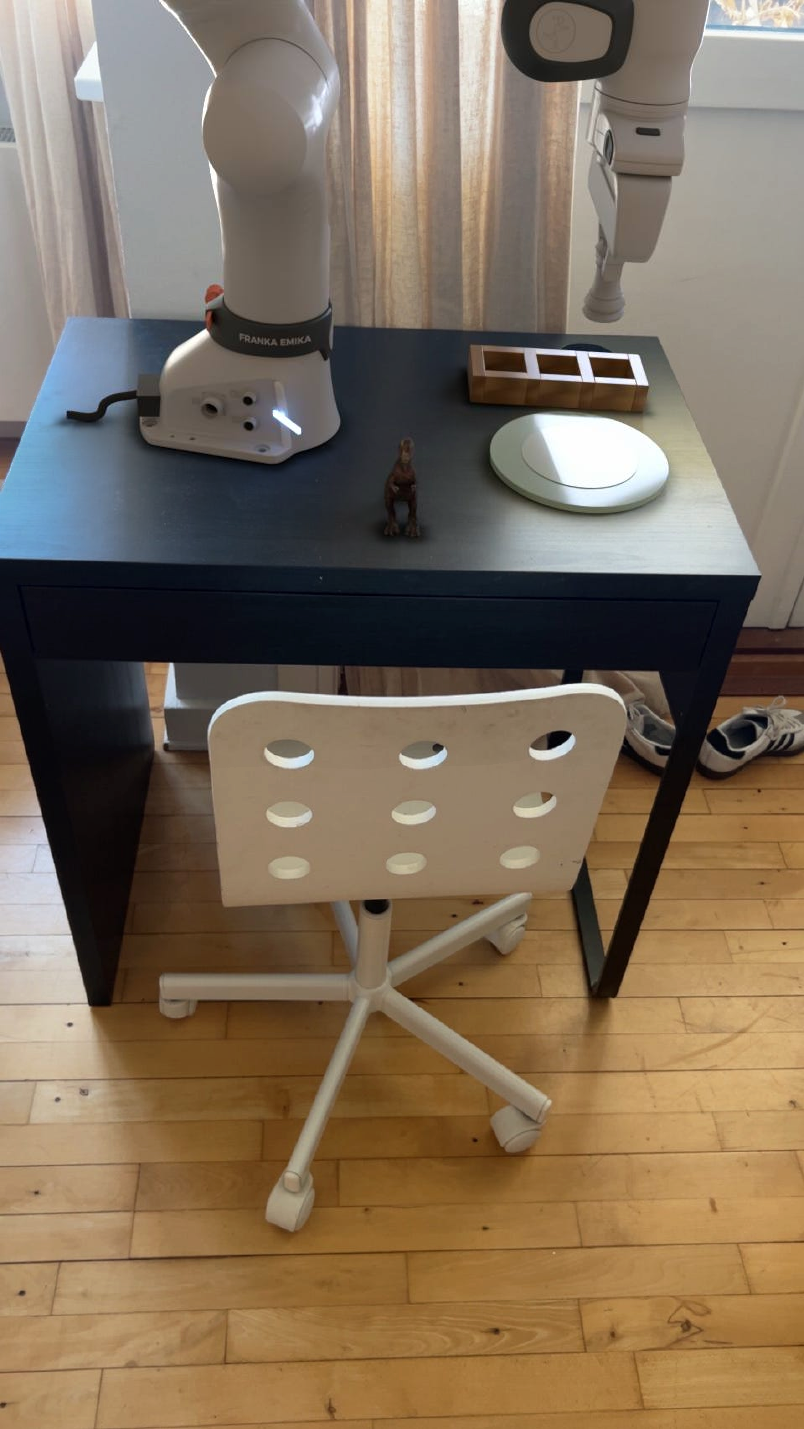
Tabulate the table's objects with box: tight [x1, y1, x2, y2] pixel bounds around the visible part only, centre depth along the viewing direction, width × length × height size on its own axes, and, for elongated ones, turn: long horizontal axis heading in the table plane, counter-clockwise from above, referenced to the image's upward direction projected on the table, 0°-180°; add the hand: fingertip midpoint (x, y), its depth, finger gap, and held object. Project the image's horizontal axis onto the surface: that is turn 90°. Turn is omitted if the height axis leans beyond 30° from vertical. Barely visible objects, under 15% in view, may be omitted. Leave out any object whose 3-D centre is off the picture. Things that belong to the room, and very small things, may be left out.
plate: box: [488, 410, 670, 514], centre depth 130 cm, size 20×20×1 cm
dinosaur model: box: [383, 437, 421, 538], centre depth 117 cm, size 4×12×15 cm
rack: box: [466, 344, 650, 413], centre depth 141 cm, size 21×8×4 cm, turn 91°
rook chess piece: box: [581, 235, 626, 324], centre depth 118 cm, size 4×4×8 cm
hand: (607, 270), depth 118 cm, fingers closed on rook chess piece, 3 cm apart
